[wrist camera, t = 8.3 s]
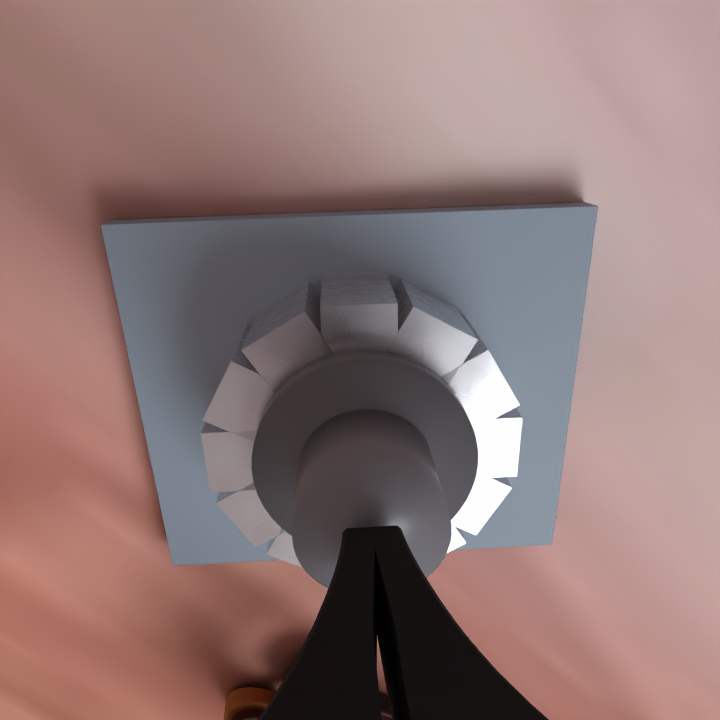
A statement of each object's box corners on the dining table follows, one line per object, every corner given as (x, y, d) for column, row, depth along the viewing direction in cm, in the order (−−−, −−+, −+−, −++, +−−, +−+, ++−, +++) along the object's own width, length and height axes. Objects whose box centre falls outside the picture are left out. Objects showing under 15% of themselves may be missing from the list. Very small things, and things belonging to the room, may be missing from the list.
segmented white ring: (502, 270, 19) (534, 297, 16) (484, 510, 23) (507, 567, 20) (204, 282, 18) (180, 312, 15) (239, 523, 22) (225, 583, 19)
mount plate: (585, 202, 19) (597, 206, 18) (543, 528, 24) (552, 544, 23) (112, 219, 18) (100, 225, 18) (178, 548, 24) (172, 566, 23)
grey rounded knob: (458, 316, 19) (522, 414, 13) (445, 481, 22) (493, 630, 15) (260, 318, 19) (221, 420, 12) (272, 484, 21) (246, 639, 15)
